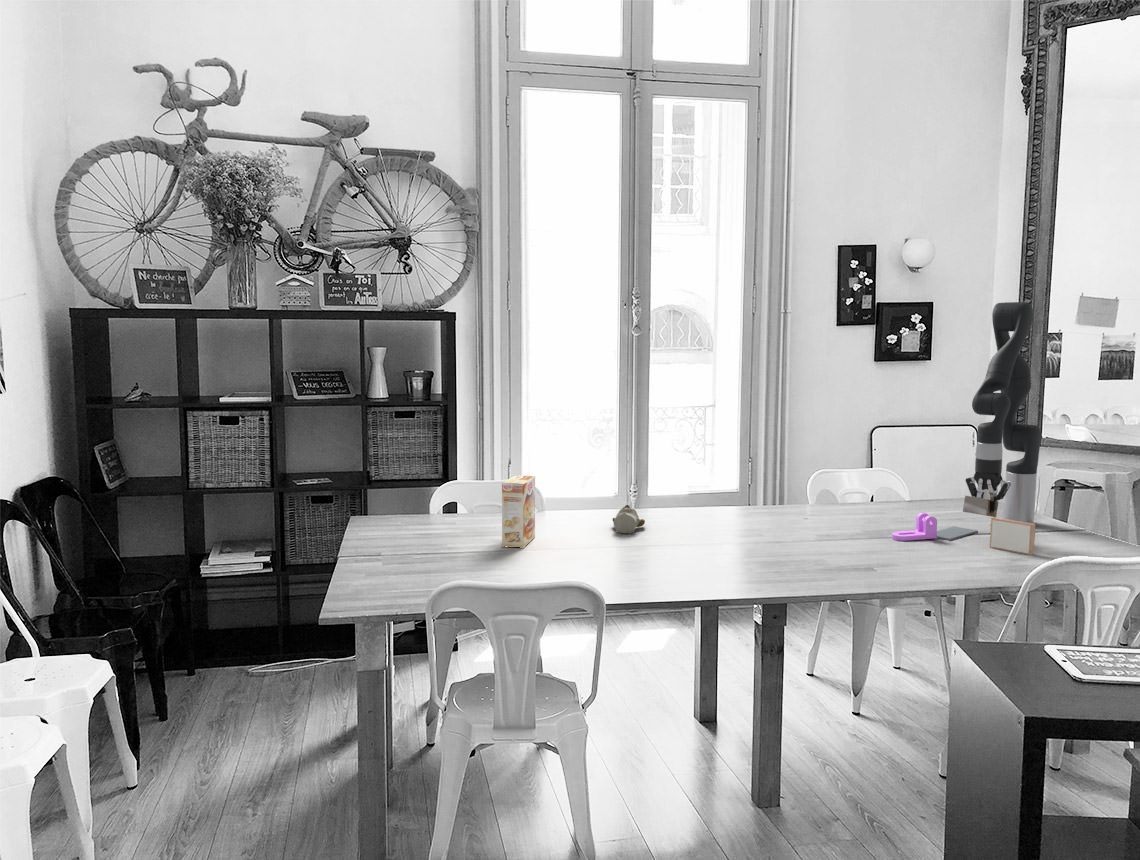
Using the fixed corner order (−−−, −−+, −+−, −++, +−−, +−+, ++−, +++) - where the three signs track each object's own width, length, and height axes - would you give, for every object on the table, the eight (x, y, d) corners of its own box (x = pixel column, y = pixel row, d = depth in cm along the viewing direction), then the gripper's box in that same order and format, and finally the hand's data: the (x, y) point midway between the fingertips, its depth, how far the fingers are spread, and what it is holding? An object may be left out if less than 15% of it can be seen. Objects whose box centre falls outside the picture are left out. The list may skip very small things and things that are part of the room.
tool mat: (953, 528, 306) (954, 526, 306) (977, 532, 300) (978, 530, 300) (925, 536, 294) (925, 534, 294) (949, 540, 288) (949, 538, 288)
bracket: (927, 533, 295) (927, 512, 294) (936, 538, 290) (937, 516, 289) (888, 536, 293) (888, 515, 292) (897, 541, 288) (897, 519, 287)
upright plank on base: (980, 514, 297) (982, 499, 297) (1002, 518, 291) (1005, 502, 292) (962, 511, 289) (965, 495, 289) (985, 515, 284) (987, 498, 284)
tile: (992, 546, 281) (994, 517, 280) (1033, 554, 272) (1035, 523, 271) (989, 547, 280) (990, 518, 279) (1030, 555, 271) (1032, 524, 270)
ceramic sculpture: (607, 507, 295) (614, 501, 310) (606, 534, 295) (614, 527, 310) (641, 508, 293) (646, 502, 308) (640, 536, 293) (646, 528, 308)
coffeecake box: (524, 548, 277) (524, 483, 275) (500, 547, 278) (500, 482, 276) (536, 537, 292) (536, 475, 289) (514, 536, 293) (513, 474, 291)
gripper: (1017, 458, 286) (1014, 513, 289) (972, 453, 297) (970, 506, 299) (1005, 461, 282) (1003, 517, 284) (961, 455, 292) (958, 510, 295)
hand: (986, 511), depth 292 cm, fingers closed on upright plank on base, 3 cm apart
